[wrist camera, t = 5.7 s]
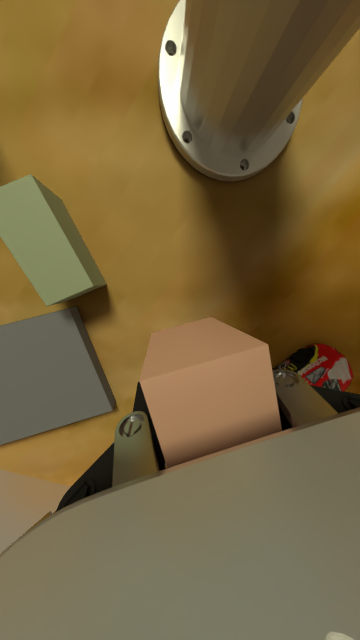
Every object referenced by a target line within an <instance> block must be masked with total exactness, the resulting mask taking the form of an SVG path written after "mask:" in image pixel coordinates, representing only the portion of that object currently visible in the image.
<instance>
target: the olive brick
mask: <svg viewBox="0 0 360 640" xmlns="http://www.w3.org/2000/svg"><path fill="white" fill-rule="evenodd" d="M0 237H1V238H2V240H3V241H4V243H5V244H6V246H7V247H8V249H9V250H10V252H11V253H12V255H13V256H14V258H15V259H16V261H17V262H18V264H19V265H20V267H21V268H22V270H23V271H24V273H25V274H26V276H27V277H28V279H29V280H30V282H31V283H32V285H33V286H34V288H35V289H36V291H37V292H38V294H39V295H40V297H41V298H42V300H43V301H44V303H45V304H46V306H49V305H53V304H57V303H61V302H65V301H69V300H72V299H74V298H76V297H79V296H81V295H83V294H86V293H88V292H90V291H93V290H95V289H97V288H100V287H102V286H104V285H106V282H105V280H104V278H103V276H102V274H101V273H100V271H99V269H98V267H97V265H96V263H95V261H94V259H93V258H92V256H91V254H90V252H89V250H88V248H87V246H86V245H85V243H84V241H83V239H82V237H81V235H80V233H79V231H78V230H77V228H76V226H75V224H74V222H73V220H72V218H71V217H70V215H69V213H68V211H67V209H66V207H65V205H64V203H63V202H62V200H61V199H60V198H59V197H58V196H56V195H55V194H54V193H53V192H52V191H50V190H49V189H48V188H47V187H46V186H44V185H43V184H42V183H41V182H40V181H38V180H37V179H36V178H35V177H34V176H32V175H31V174H30V175H28V176H25V177H23V178H21V179H18V180H16V181H13V182H11V183H8V184H6V185H3V186H1V187H0Z"/></svg>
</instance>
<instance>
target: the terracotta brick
mask: <svg viewBox="0 0 360 640" xmlns="http://www.w3.org/2000/svg"><path fill="white" fill-rule="evenodd" d="M140 384H141V387H142V390H143V394H144V397H145V400H146V403H147V406H148V409H149V412H150V415H151V418H152V421H153V424H154V428H155V431H156V434H157V437H158V440H159V443H160V446H161V449H162V452H163V455H164V459H165V462H166V465H167V468H170V467H173V466H176V465H179V464H182V463H185V462H188V461H191V460H194V459H197V458H200V457H203V456H206V455H210V454H213V453H216V452H219V451H222V450H225V449H228V448H231V447H234V446H237V445H240V444H243V443H247V442H250V441H253V440H256V439H259V438H262V437H265V436H268V435H271V434H274V433H278V432H281V431H282V428H281V422H280V415H279V409H278V403H277V397H276V390H275V384H274V378H273V372H272V366H271V359H270V353H269V347H268V344H266V343H264V342H262V341H260V340H258V339H256V338H254V337H252V336H250V335H248V334H246V333H244V332H242V331H240V330H237V329H235V328H233V327H231V326H229V325H227V324H225V323H223V322H221V321H219V320H217V319H215V318H213V317H209V318H205V319H201V320H198V321H194V322H190V323H187V324H183V325H179V326H175V327H172V328H168V329H164V330H161V331H157V332H153V333H152V334H151V338H150V342H149V346H148V350H147V354H146V358H145V361H144V365H143V369H142V373H141V377H140Z"/></svg>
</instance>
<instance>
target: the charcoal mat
mask: <svg viewBox="0 0 360 640" xmlns="http://www.w3.org/2000/svg"><path fill="white" fill-rule="evenodd" d="M115 402H116V401H115V398H114V396H113V393H112V391H111V389H110V386H109V384H108V381H107V379H106V377H105V374H104V372H103V369H102V367H101V365H100V362H99V360H98V357H97V355H96V353H95V350H94V348H93V345H92V343H91V341H90V338H89V336H88V333H87V331H86V329H85V326H84V324H83V321H82V319H81V317H80V314H79V312H78V309H77V307H72V308H68V309H64V310H60V311H56V312H52V313H48V314H44V315H40V316H37V317H33V318H29V319H25V320H21V321H17V322H13V323H9V324H5V325H1V326H0V445H2V444H5V443H9V442H12V441H15V440H19V439H22V438H25V437H28V436H32V435H35V434H38V433H41V432H45V431H48V430H51V429H54V428H58V427H61V426H64V425H67V424H71V423H74V422H77V421H80V420H84V419H87V418H90V417H93V416H97V415H100V414H103V413H106V412H110V411H113V408H114V405H115Z"/></svg>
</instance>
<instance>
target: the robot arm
mask: <svg viewBox="0 0 360 640" xmlns="http://www.w3.org/2000/svg"><path fill="white" fill-rule="evenodd" d="M359 28H360V0H180V1H179V2H178V3H177V5H176V7H175V8H174V10H173V12H172V14H171V16H170V17H169V19H168V22H167V25H166V28H165V31H164V34H163V37H162V40H161V47H160V53H159V59H158V92H159V102H160V107H161V112H162V117H163V120H164V123H165V125H166V128H167V131H168V134H169V136H170V137H171V139H172V141H173V143H174V145H175V147H176V148H177V150H178V151H179V152H180V154H181V155H182V156H183V157H184V159H185V160H186V161H187V162H188V163H189V164H190V165H192V166H193V167H194V168H195V169H196V170H197V171H199V172H201V173H203V174H204V175H206V176H208V177H210V178H214V179H217V180H220V181H231V182H233V181H239V180H244V179H247V178H249V177H252V176H254V175H256V174H258V173H259V172H261V171H262V170H263V169H265V168H266V167H267V166H268V165H269V164H270V163H271V162H272V161H273V160H274V159H275V158H276V157H277V156H278V155H279V154H280V152H281V151H282V150H283V149H284V148H285V146H286V144H287V142H288V141H289V139H290V137H291V136H292V134H293V131H294V129H295V127H296V124H297V121H298V118H299V114H300V110H301V105H302V100H303V97H304V96H305V95H306V93H307V92H308V91H309V90H310V88H311V87H312V86H313V85H314V83H315V82H316V81H317V80H318V79H319V77H320V76H321V75H322V74H323V72H324V71H325V70H326V69H327V68H328V66H329V65H330V64H331V63H332V61H333V60H334V59H335V58H336V57H337V55H338V54H339V53H340V52H341V50H342V49H343V48H344V47H345V45H346V44H347V43H348V42H349V41H350V39H351V38H352V37H353V36H354V34H355V33H356V32H357V31H358V30H359ZM272 372H273V378H274V384H275V390H276V397H277V403H278V409H279V415H280V422H281V428H282V431H281V432H278V433H274V434H271V435H268V436H265V437H262V438H259V439H256V440H253V441H250V442H247V443H243V444H240V445H237V446H234V447H231V448H228V449H225V450H222V451H219V452H216V453H213V454H210V455H206V456H203V457H200V458H197V459H194V460H191V461H188V462H185V463H182V464H179V465H176V466H173V467H170V468H166V465H165V463H166V462H165V459H164V455H163V452H162V449H161V446H160V443H159V440H158V437H157V434H156V431H155V428H154V424H153V421H152V418H151V415H150V412H149V409H148V406H147V403H146V400H145V397H144V394H143V390H142V387H141V384H140V382H138V385H137V391H136V397H135V403H134V408H133V412H132V413H130V414H128V415H126V416H125V417H124V418H123V419H122V420H121V421H120V422H119V423H118V425H117V427H116V431H115V442H114V443H113V444H112V445H111V446H110V447H109V448H108V449H107V450H106V451H105V452H104V453H103V454H102V455H101V456H100V457H99V458H98V460H97V461H96V462H95V463H94V464H93V465H92V466H91V467H90V468H89V469H88V470H87V471H86V472H85V473H84V474H83V475H82V476H81V477H80V478H79V479H78V480H77V481H76V482H75V483H74V484H73V485H72V486H71V487H70V489H69V490H68V491H67V492H66V493H65V495H64V496H63V498H62V500H61V501H60V503H59V506H58V508H57V510H56V511H55V512H54V513H53V514H52V513H51V511H50V512H49V513H47V514H46V515H45V516H44V517H43V518H42V519H41V520H39V521H38V522H37V523H36V524H35V525H34V526H33V527H31V528H30V529H29V530H28V531H27V532H26V533H25V534H23V535H22V536H21V537H19V538H18V539H17V540H16V541H15V542H13V543H12V544H11V545H10V546H9V547H8V548H6V549H5V550H4V551H3V552H2V553H1V554H0V640H360V395H359V394H354V393H349V392H344V391H339V390H334V389H329V388H324V387H319V386H314V385H309V384H308V383H307V382H306V381H305V380H304V379H303V378H302V377H301V376H300V375H299V374H297V373H296V372H294V371H291V370H287V369H276V370H272Z"/></svg>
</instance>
